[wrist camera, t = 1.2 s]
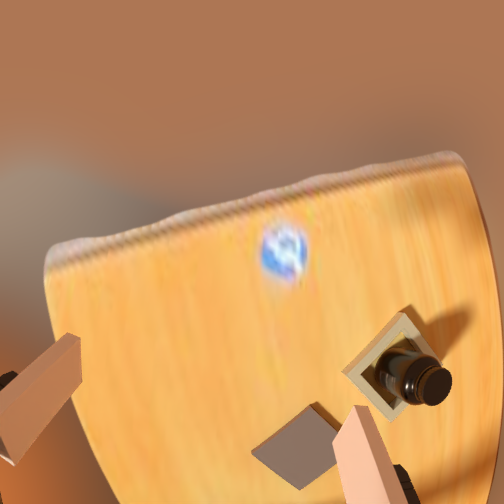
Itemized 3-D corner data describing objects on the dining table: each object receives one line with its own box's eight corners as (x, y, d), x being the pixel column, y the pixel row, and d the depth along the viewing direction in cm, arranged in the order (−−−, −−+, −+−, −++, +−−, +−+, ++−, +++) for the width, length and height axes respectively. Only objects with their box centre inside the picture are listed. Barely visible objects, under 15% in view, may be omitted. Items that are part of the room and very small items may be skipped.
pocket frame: (436, 362, 40) (443, 364, 38) (385, 418, 39) (390, 422, 37) (398, 311, 41) (404, 312, 39) (341, 371, 39) (345, 375, 37)
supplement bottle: (402, 391, 39) (445, 416, 27) (366, 385, 39) (406, 413, 27) (417, 350, 40) (465, 364, 28) (382, 341, 40) (427, 356, 28)
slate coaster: (352, 445, 38) (354, 447, 37) (298, 487, 37) (299, 490, 36) (309, 404, 39) (310, 407, 38) (251, 450, 37) (251, 454, 36)
